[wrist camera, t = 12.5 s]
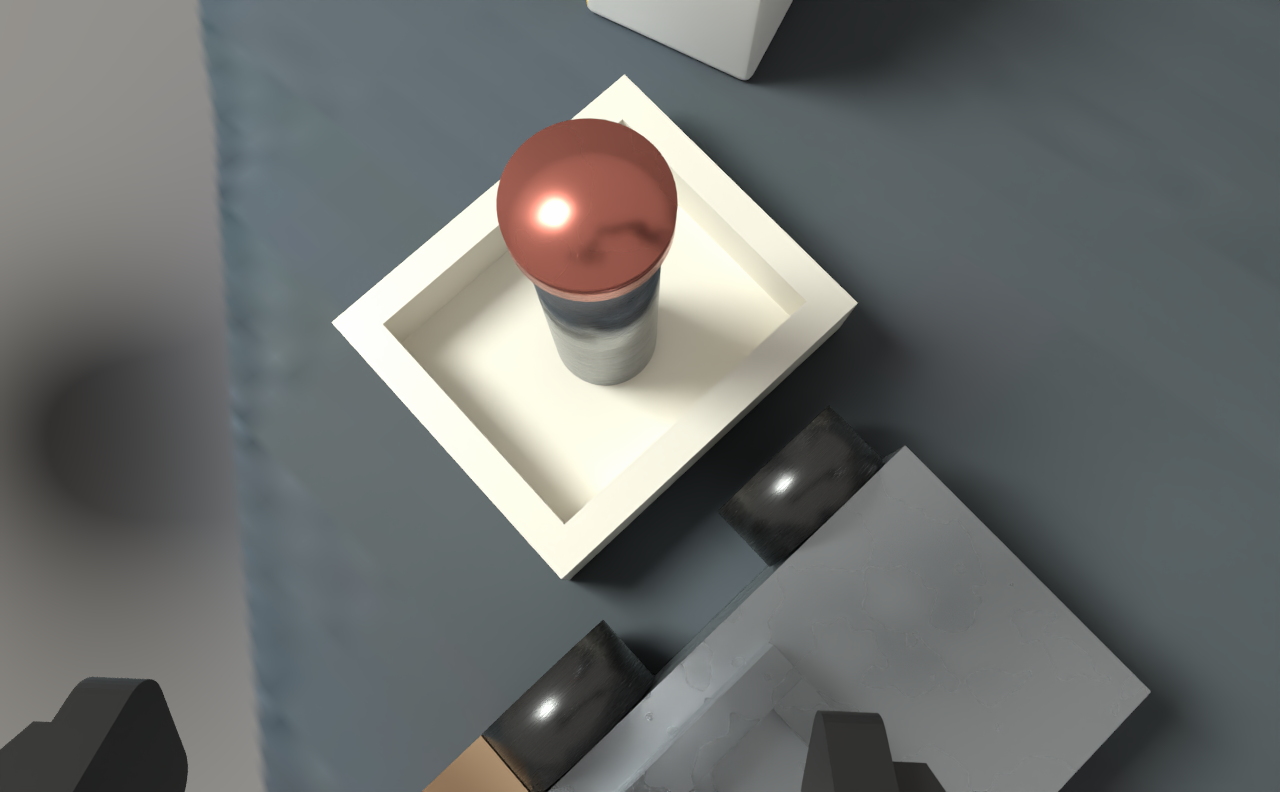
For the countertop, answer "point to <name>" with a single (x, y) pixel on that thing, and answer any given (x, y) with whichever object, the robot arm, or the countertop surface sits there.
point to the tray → (566, 405)
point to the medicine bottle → (703, 27)
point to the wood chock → (478, 772)
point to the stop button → (592, 240)
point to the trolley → (837, 650)
